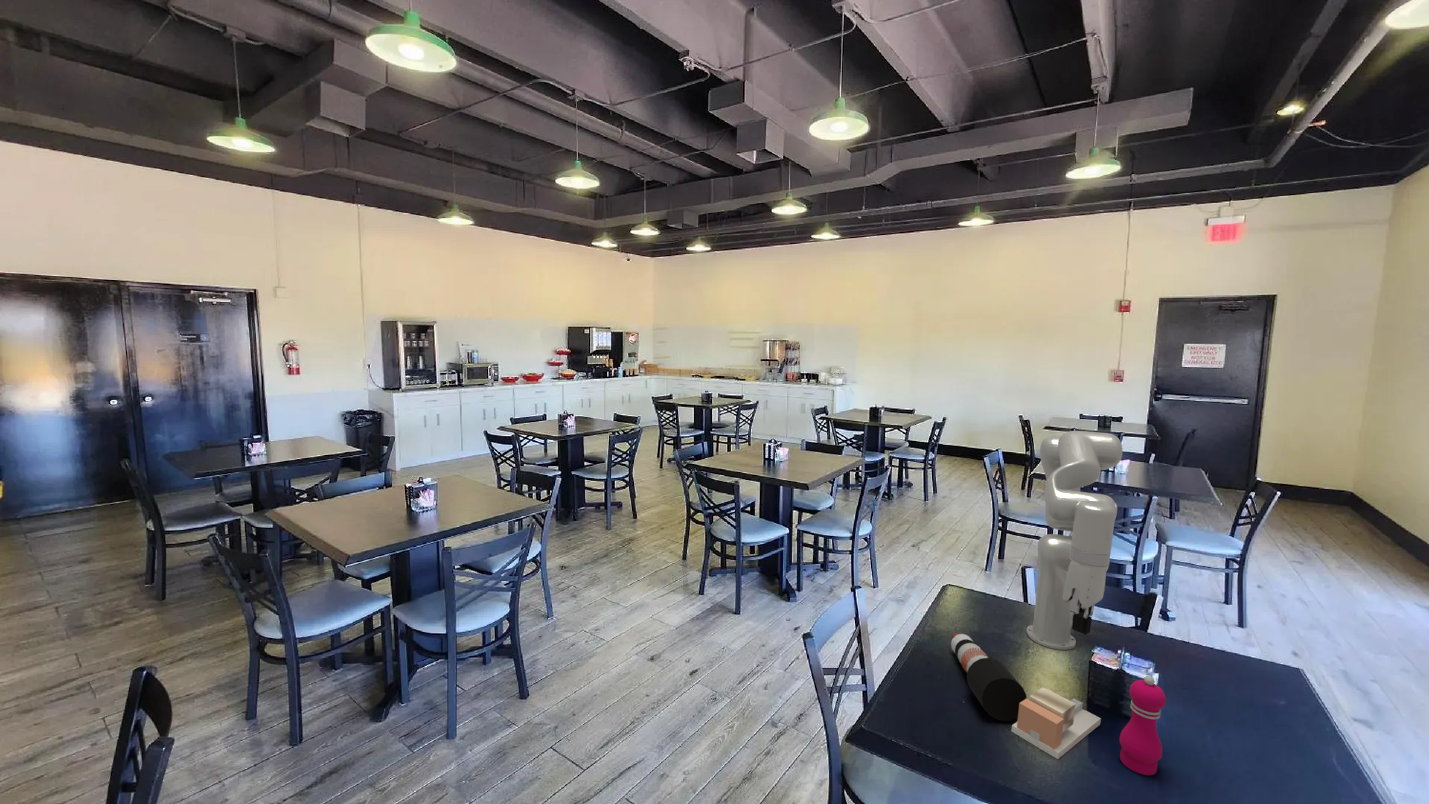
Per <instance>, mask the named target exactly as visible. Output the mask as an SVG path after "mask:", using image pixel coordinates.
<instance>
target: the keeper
mask: <svg viewBox="0 0 1429 804" xmlns="http://www.w3.org/2000/svg"><path fill="white" fill-rule="evenodd" d="M1028 700H1030V701H1032V702H1034V703H1036V704H1038V705H1039V706H1041V707H1043V708H1045V709H1047V710H1049V711H1050V712H1052V713H1054V714H1056V715H1058V716H1060V717H1062V718H1063V719H1064V722H1063V730H1062V733H1063V732H1064V731H1065V730H1067V729H1068V728H1069V727H1070V726H1072V725H1073V721H1074V713H1075V705H1076V704H1075V703H1073V702H1071V700H1069V699H1068V698H1065V697H1063V696H1061V695H1059V694H1057V693H1055V692H1054V691H1051V690H1050V689H1048V688H1045V687H1043V686H1042V687H1041V688H1039V689H1038V690H1037V691H1035V692H1033V693H1032V694H1030V695H1029V698H1028Z"/></svg>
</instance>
